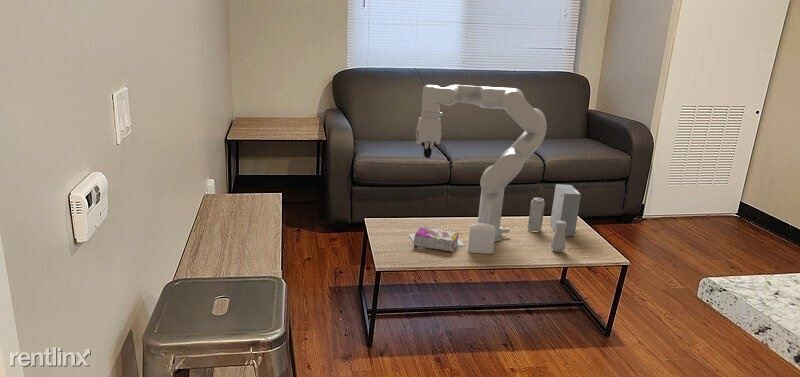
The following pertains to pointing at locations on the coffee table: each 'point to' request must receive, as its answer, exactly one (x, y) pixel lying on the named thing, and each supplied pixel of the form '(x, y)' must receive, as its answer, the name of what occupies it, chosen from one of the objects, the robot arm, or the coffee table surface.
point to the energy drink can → (536, 214)
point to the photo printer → (481, 238)
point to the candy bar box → (436, 239)
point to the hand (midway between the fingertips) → (427, 157)
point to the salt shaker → (559, 237)
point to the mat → (424, 247)
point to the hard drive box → (565, 207)
